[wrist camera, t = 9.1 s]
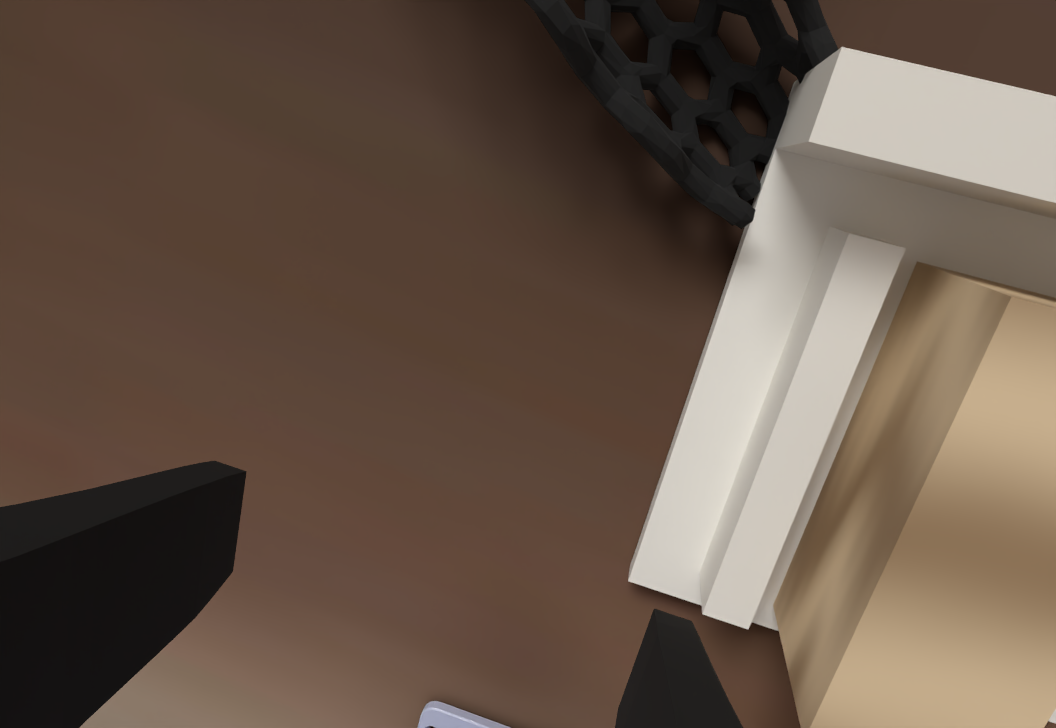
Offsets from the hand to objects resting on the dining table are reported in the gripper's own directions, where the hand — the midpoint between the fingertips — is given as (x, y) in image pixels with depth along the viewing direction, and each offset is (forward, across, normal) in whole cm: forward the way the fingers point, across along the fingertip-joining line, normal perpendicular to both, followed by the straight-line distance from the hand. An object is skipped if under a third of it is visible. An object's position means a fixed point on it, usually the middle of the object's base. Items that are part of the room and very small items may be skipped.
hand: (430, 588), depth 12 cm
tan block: (+9, -10, -2) cm, 13 cm away
